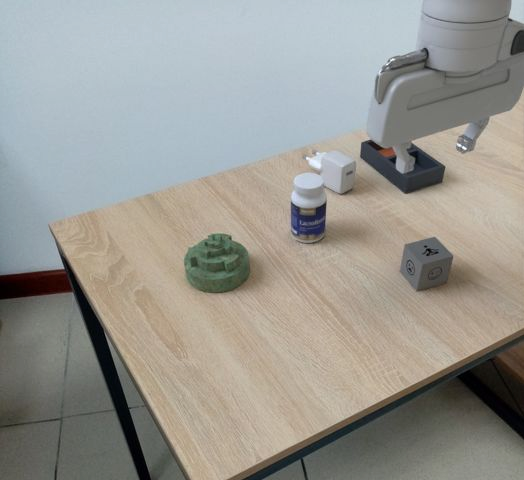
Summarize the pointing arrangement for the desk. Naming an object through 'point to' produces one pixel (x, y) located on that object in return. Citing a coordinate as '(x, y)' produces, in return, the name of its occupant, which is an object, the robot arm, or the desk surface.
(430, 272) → the dice cube
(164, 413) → the desk surface
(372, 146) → the compartment tray
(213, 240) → the decorative artifact
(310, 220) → the pill bottle
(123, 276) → the desk surface
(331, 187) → the power adapter
